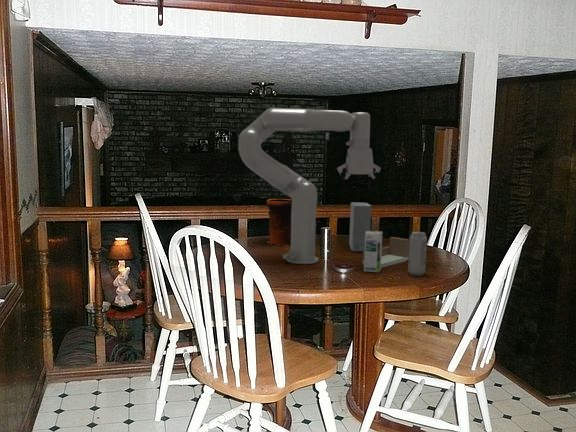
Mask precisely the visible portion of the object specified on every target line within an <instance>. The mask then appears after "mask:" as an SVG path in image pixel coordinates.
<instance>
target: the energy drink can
mask: <svg viewBox="0 0 576 432" xmlns="http://www.w3.org/2000/svg"><path fill="white" fill-rule="evenodd" d="M426 234H427V233H426V232H422V231H412V232H411V234H410V235H409V254H408V264H407V265H408V266H407V271H408V272H409V275H412V276H423V275H424V274H425V273H426V264H427V263H426V262H427V261H426V260H427V248H428V247H427V245H428V244H427V243H428V238H427V235H426Z"/></svg>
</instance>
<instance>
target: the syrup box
mask: <svg viewBox="0 0 576 432" xmlns="http://www.w3.org/2000/svg"><path fill="white" fill-rule="evenodd" d="M382 248H383V231H375V230H374V231H373V230H370V231H366V233H365V251H364V252H365V255H364V264H363V272H368V273H380V271H381V270H382V268H381V255H382Z"/></svg>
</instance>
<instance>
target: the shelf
mask: <svg viewBox="0 0 576 432" xmlns="http://www.w3.org/2000/svg"><path fill="white" fill-rule="evenodd" d="M409 242H410V238H409V239H408V238H403V237H402V238H401V237H395V236H394V237H393V236H391V237H389V245H388V246H384V247H382V255H381V269H382V268H385V267H389V266H392V265H397V264H400V263H403V262H407V260H408V261H409ZM364 255H365V251H362V263H361V264H362V265H364Z"/></svg>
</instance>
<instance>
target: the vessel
mask: <svg viewBox="0 0 576 432" xmlns="http://www.w3.org/2000/svg"><path fill="white" fill-rule="evenodd" d="M266 206H267V207H268V216H269V220H268V222H269V224H268V225H269V228H268V231H269V241H267V244H268V243H271V244H277V245H285V246H291V210H292V199H291V198H287V199H286V198H269V199H267V200H266ZM271 244H270V245H271ZM277 245H276V246H277Z"/></svg>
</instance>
